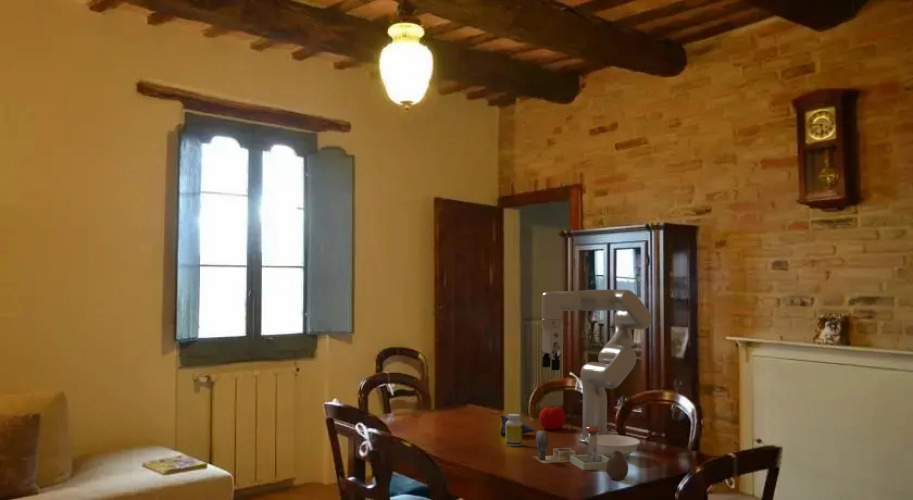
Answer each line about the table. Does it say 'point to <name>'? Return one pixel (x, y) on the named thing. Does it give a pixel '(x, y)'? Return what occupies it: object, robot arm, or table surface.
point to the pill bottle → (513, 430)
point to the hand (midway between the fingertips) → (550, 368)
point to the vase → (617, 466)
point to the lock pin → (592, 443)
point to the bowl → (615, 444)
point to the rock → (524, 427)
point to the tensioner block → (558, 453)
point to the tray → (580, 460)
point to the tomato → (552, 417)
